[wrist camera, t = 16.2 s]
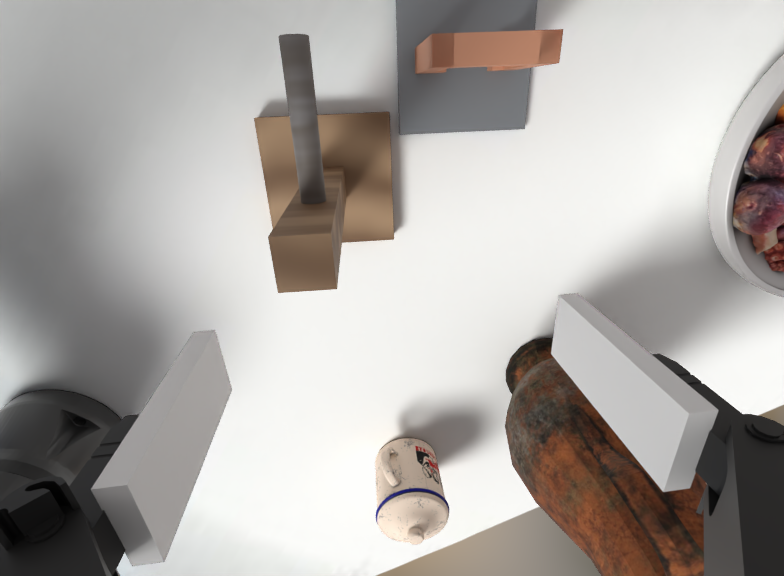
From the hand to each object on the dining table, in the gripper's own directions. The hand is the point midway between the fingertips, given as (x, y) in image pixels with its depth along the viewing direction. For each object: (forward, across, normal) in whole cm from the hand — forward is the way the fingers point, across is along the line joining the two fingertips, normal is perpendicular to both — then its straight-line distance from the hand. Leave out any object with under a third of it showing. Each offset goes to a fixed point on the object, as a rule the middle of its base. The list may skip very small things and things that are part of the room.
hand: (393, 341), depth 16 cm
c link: (+27, -10, -11) cm, 31 cm away
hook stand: (+28, +3, -4) cm, 28 cm away
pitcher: (+28, -20, +23) cm, 41 cm away
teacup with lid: (+28, -2, +37) cm, 46 cm away
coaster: (+28, -10, -11) cm, 31 cm away
